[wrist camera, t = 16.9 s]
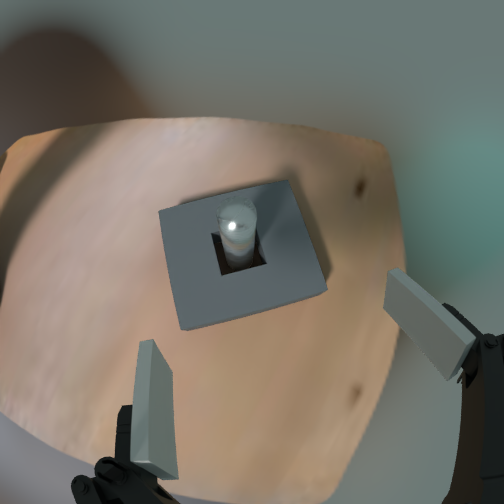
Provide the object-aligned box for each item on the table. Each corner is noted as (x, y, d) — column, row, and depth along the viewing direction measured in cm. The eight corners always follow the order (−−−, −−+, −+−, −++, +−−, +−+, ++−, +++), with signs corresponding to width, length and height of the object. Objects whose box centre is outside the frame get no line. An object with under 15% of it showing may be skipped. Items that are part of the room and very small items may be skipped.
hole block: (187, 330, 30) (180, 329, 26) (165, 222, 34) (158, 210, 31) (319, 294, 31) (327, 289, 28) (284, 193, 36) (287, 179, 32)
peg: (230, 274, 32) (221, 237, 21) (223, 249, 33) (212, 201, 22) (256, 267, 32) (261, 226, 21) (249, 242, 33) (250, 192, 22)
